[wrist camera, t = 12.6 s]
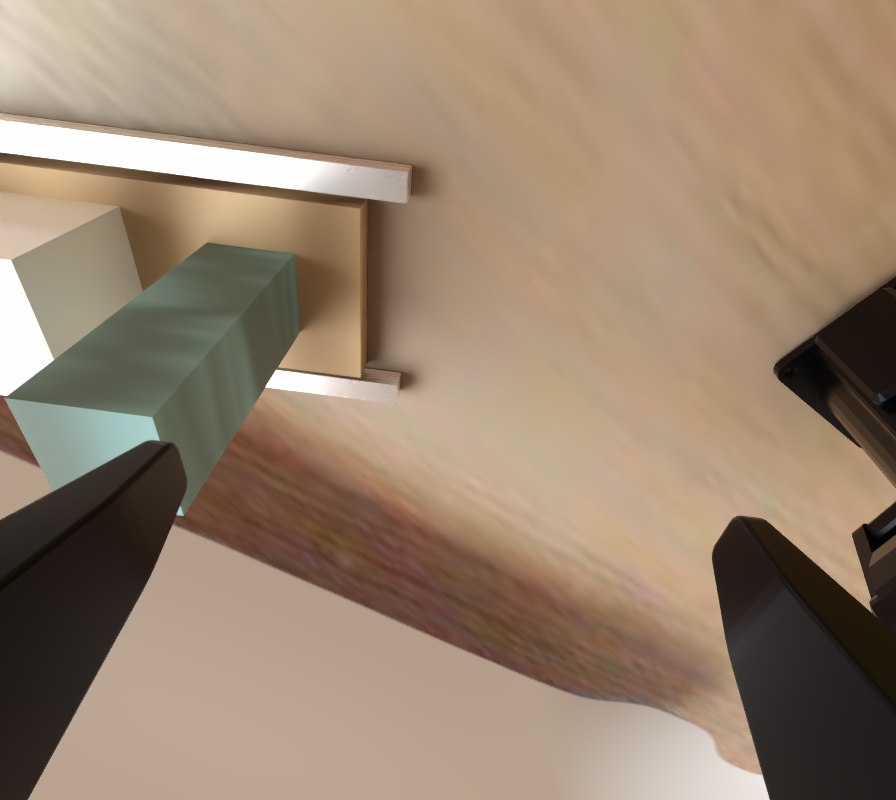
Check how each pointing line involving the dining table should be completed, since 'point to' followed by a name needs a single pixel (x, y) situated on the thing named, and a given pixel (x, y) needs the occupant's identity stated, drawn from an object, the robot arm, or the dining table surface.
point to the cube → (57, 278)
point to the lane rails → (229, 166)
